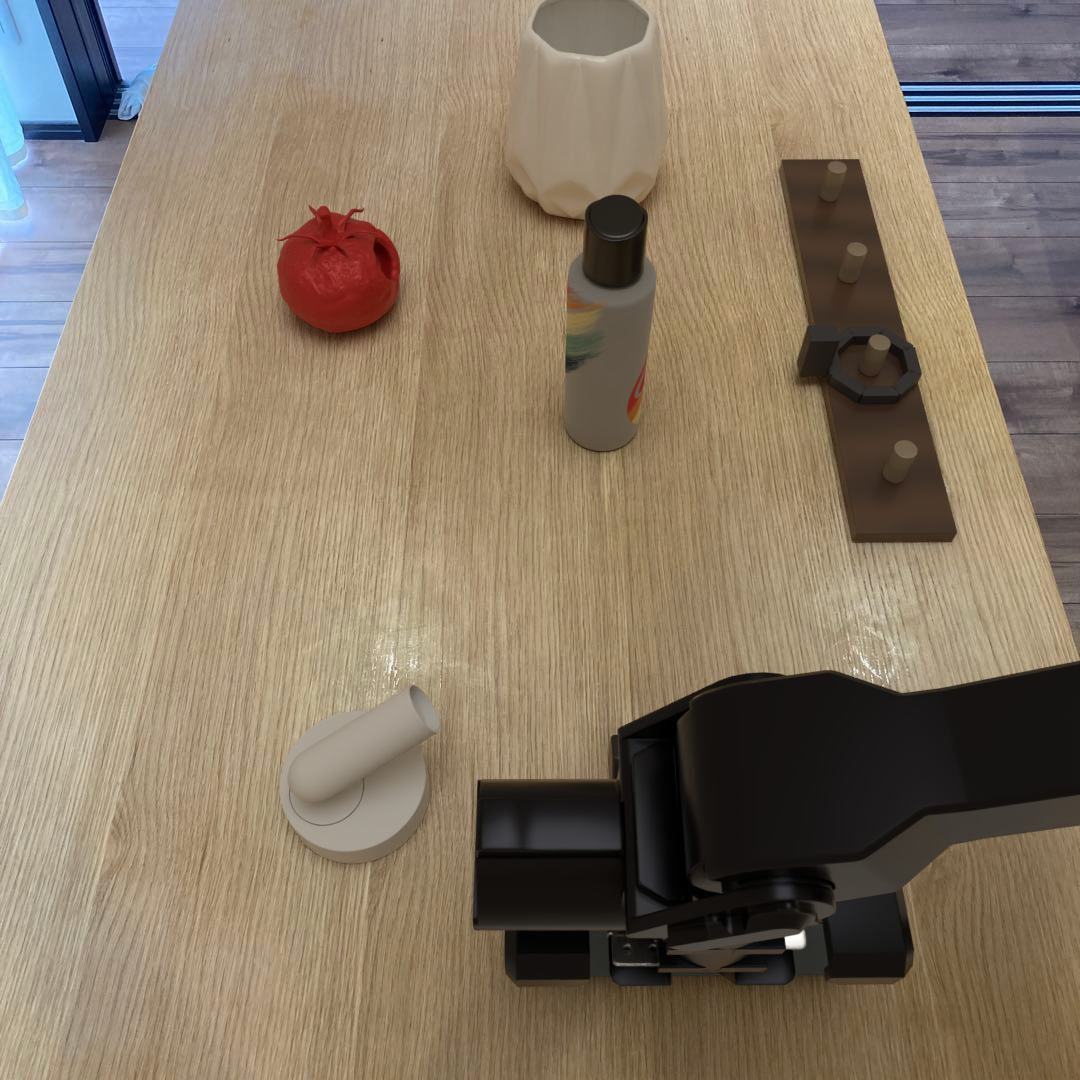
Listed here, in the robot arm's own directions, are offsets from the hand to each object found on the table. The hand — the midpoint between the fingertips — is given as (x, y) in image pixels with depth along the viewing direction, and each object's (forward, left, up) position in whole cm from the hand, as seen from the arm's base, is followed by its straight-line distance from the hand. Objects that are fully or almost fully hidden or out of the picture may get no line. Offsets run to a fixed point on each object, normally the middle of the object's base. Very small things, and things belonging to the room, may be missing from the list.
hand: (682, 947), depth 56 cm
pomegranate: (+43, -36, -2) cm, 56 cm away
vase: (+31, -58, -2) cm, 66 cm away
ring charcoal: (+1, -46, -1) cm, 46 cm away
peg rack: (+4, -50, -2) cm, 50 cm away
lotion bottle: (+19, -33, -2) cm, 38 cm away
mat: (+1, -3, -2) cm, 4 cm away
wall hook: (+21, -1, -2) cm, 21 cm away
